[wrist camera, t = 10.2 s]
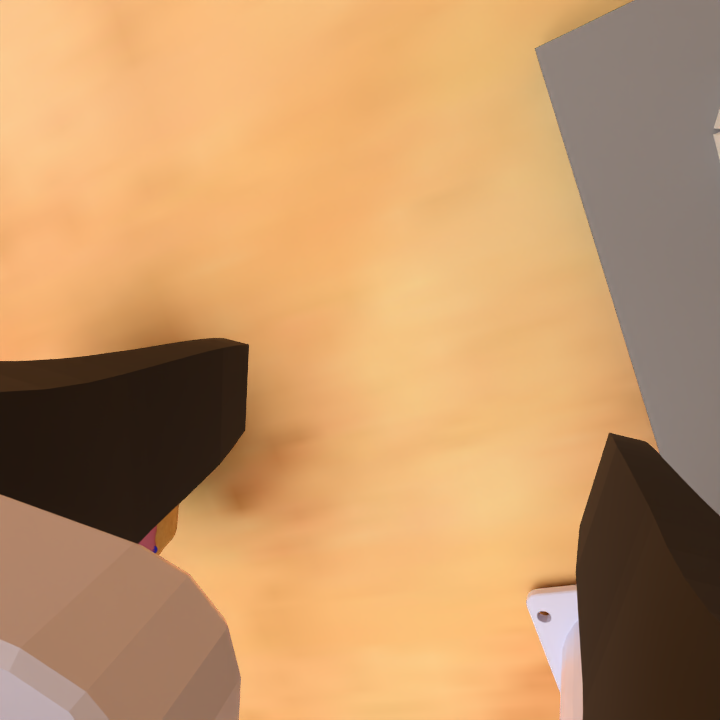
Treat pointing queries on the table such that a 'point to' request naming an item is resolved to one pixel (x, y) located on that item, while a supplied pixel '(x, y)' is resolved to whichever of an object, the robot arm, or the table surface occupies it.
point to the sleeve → (717, 134)
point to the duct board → (654, 204)
